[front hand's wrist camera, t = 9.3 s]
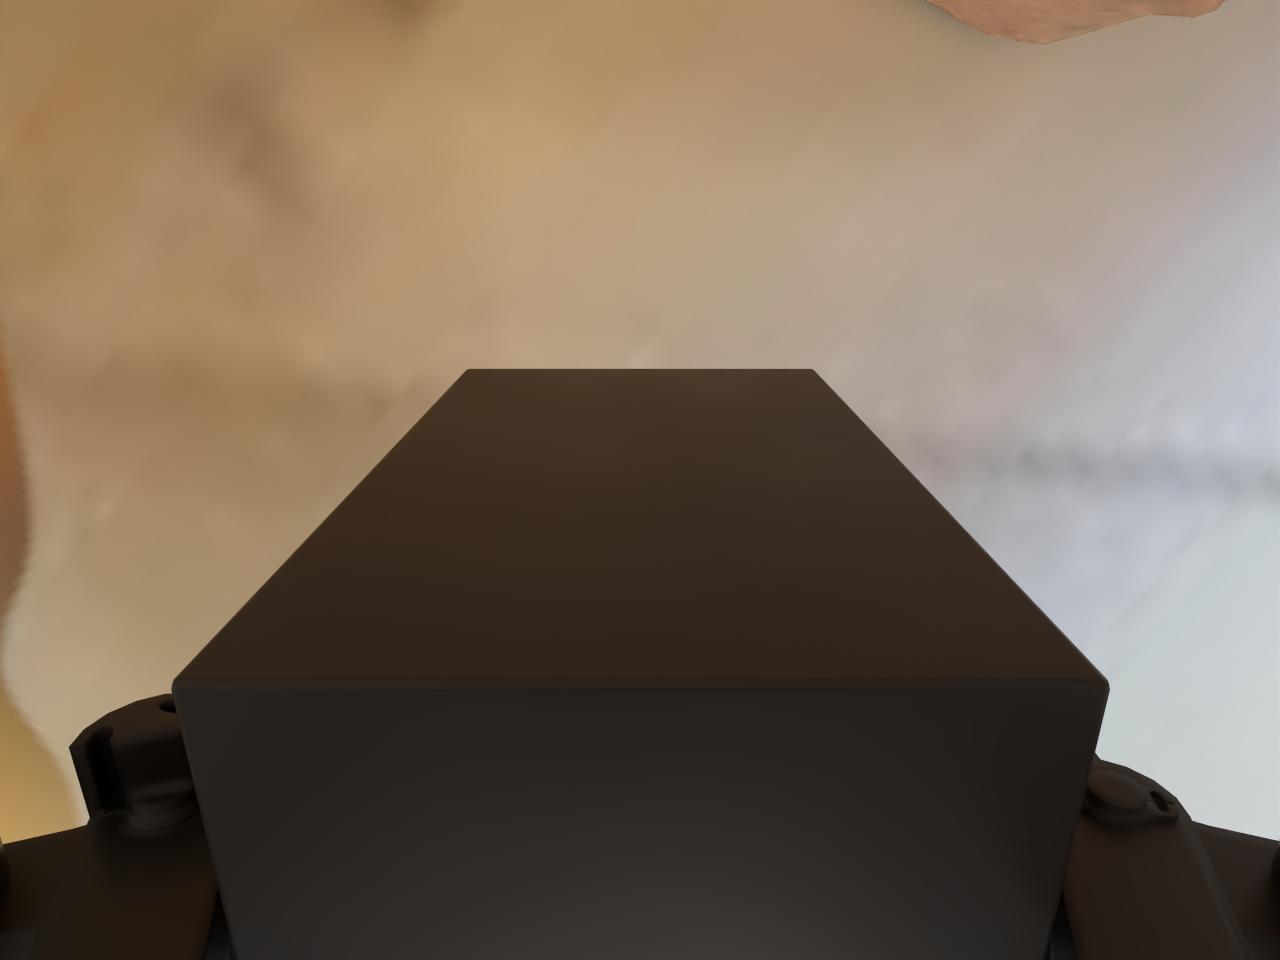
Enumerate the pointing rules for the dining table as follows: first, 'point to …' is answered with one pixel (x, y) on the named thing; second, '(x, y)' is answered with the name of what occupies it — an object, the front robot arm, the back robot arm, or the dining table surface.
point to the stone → (1062, 15)
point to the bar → (640, 696)
